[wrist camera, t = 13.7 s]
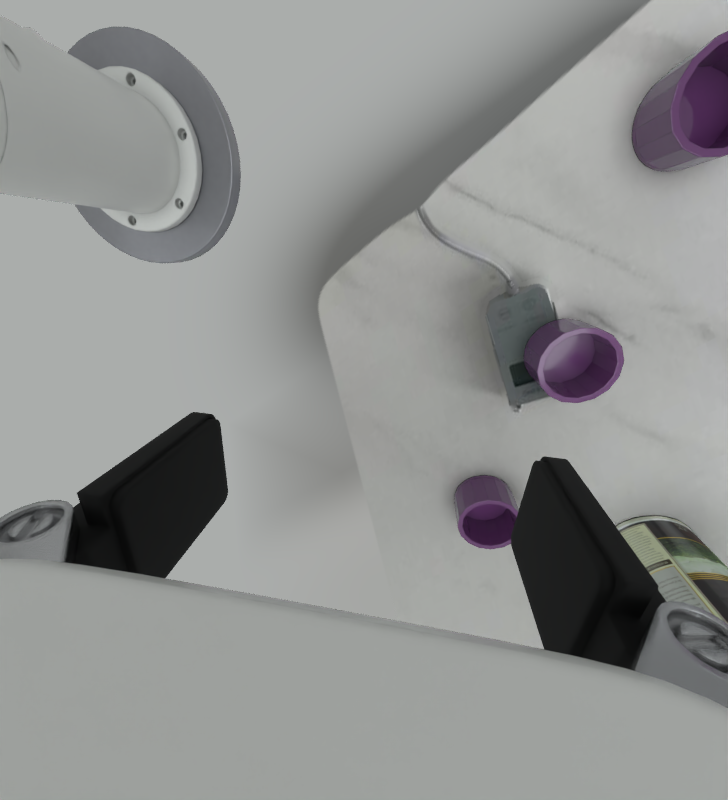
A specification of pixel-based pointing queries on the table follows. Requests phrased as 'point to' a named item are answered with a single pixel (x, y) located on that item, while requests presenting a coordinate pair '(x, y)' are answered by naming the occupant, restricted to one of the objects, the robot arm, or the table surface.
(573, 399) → the dish middle
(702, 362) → the table surface
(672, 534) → the coffee can
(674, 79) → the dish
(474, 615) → the table surface
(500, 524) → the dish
